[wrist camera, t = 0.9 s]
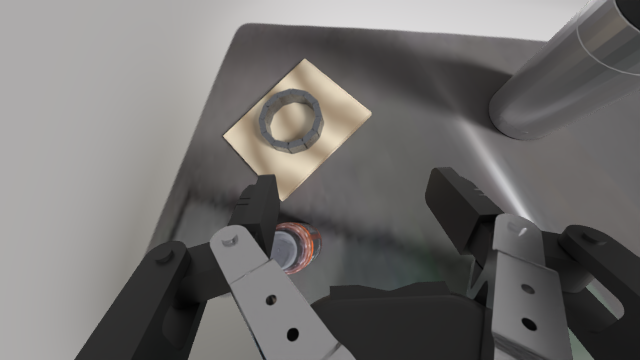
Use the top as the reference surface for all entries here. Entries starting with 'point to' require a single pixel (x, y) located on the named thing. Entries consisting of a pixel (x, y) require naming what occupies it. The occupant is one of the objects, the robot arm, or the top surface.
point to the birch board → (298, 128)
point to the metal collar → (276, 104)
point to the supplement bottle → (295, 246)
